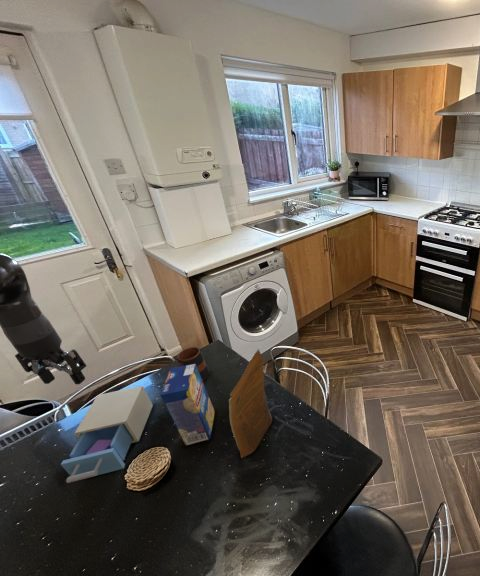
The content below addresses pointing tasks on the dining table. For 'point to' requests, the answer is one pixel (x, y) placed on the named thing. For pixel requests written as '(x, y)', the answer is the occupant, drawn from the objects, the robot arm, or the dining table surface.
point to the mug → (193, 360)
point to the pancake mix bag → (249, 407)
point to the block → (100, 446)
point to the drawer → (98, 453)
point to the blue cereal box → (188, 403)
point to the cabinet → (118, 412)
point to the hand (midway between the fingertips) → (65, 381)
